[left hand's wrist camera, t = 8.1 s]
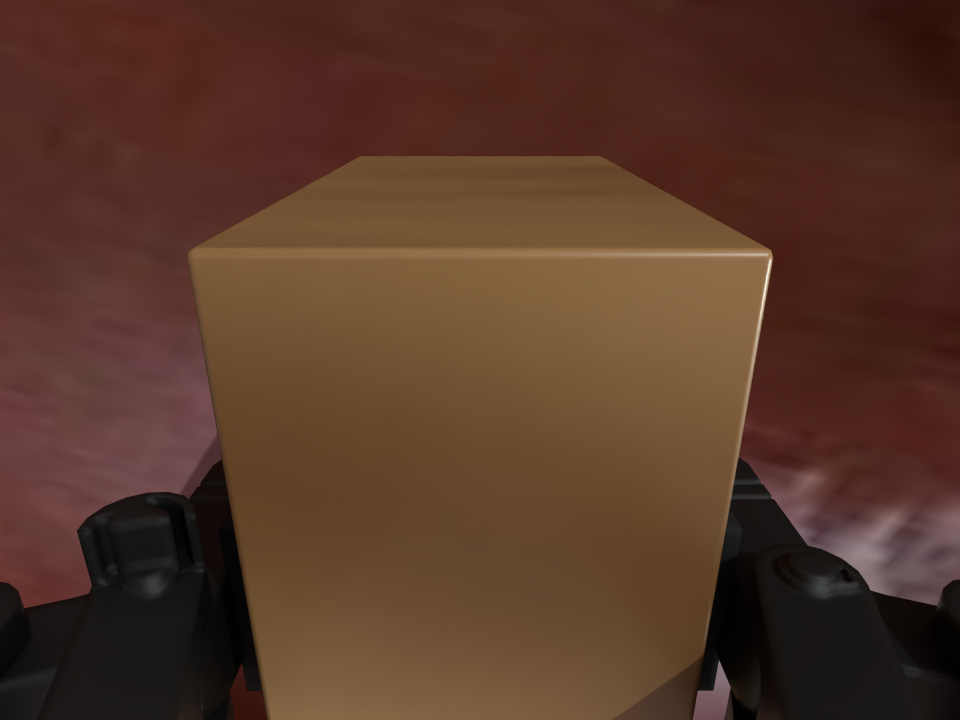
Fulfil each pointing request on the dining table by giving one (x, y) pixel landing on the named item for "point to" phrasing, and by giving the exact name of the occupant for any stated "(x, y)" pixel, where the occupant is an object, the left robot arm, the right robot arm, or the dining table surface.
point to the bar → (479, 435)
